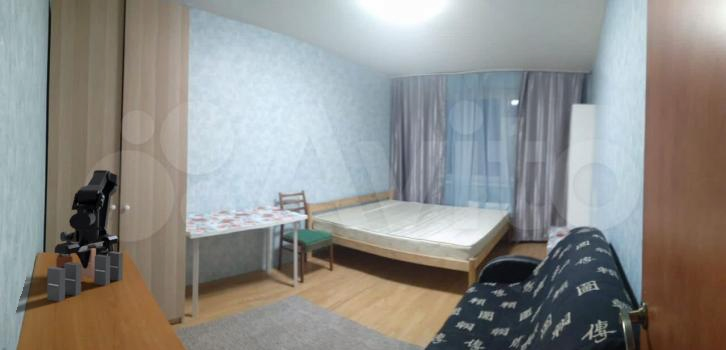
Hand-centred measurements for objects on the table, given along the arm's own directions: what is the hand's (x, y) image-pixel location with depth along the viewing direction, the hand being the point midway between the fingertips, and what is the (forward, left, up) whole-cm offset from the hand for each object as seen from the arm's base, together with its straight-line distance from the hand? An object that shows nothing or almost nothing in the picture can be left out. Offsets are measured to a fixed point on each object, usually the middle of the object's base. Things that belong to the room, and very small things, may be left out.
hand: (88, 267), depth 126 cm
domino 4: (+4, +6, -5) cm, 9 cm away
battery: (-4, -8, -5) cm, 10 cm away
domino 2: (+13, 0, -5) cm, 14 cm away
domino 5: (0, +8, -5) cm, 10 cm away
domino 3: (0, 0, -3) cm, 3 cm away
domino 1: (+17, -3, -5) cm, 18 cm away
